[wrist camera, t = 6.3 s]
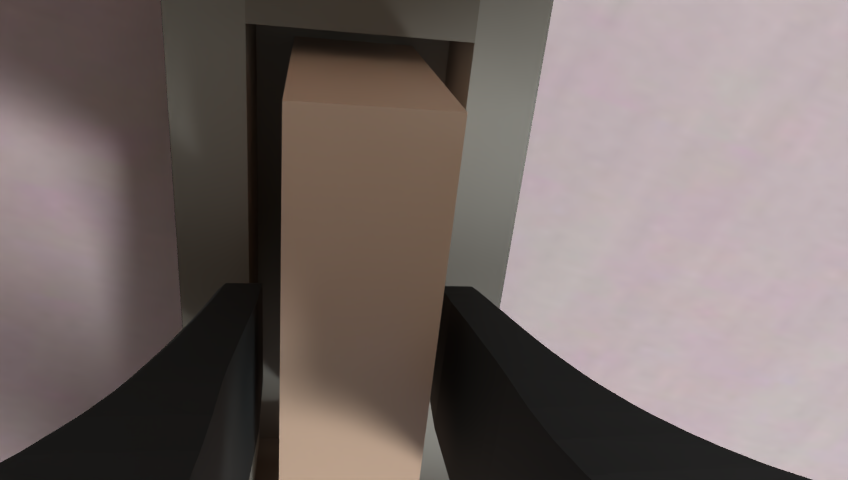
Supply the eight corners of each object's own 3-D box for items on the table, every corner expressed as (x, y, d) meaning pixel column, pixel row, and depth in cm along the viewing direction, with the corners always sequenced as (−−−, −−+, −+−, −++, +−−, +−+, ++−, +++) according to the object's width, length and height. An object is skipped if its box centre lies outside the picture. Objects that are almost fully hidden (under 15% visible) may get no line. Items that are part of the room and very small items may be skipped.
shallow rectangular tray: (445, 441, 18) (468, 530, 15) (207, 448, 17) (187, 546, 14) (517, -38, 13) (570, -28, 10) (181, -74, 12) (140, -75, 9)
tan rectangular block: (381, 384, 16) (407, 566, 11) (288, 386, 15) (278, 575, 11) (412, 45, 12) (467, 112, 8) (294, 36, 12) (282, 101, 7)
